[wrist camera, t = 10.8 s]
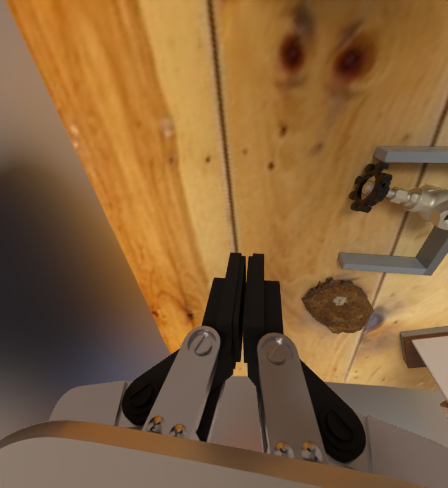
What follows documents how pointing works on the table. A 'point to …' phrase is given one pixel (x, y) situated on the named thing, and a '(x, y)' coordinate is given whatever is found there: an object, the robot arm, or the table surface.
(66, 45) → the table surface
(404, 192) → the valve
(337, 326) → the decorative rock
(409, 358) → the banded square pillar
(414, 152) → the dock cradle
